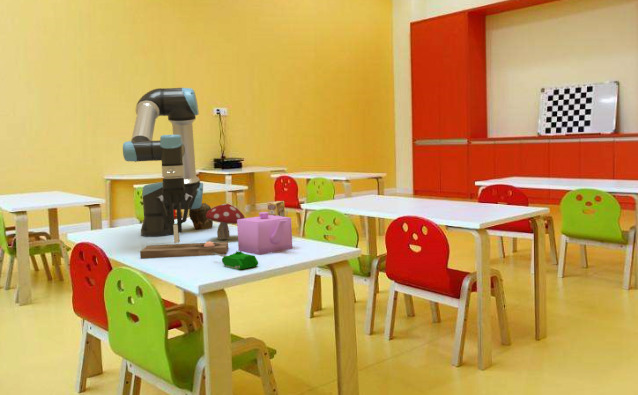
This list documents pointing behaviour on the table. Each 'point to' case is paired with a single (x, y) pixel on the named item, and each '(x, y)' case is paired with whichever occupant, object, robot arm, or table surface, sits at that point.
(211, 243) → the coral ball
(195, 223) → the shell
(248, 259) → the toy tank
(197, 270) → the table surface
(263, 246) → the teapot
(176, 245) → the walnut board
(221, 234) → the decorative mushroom
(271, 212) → the candy box
